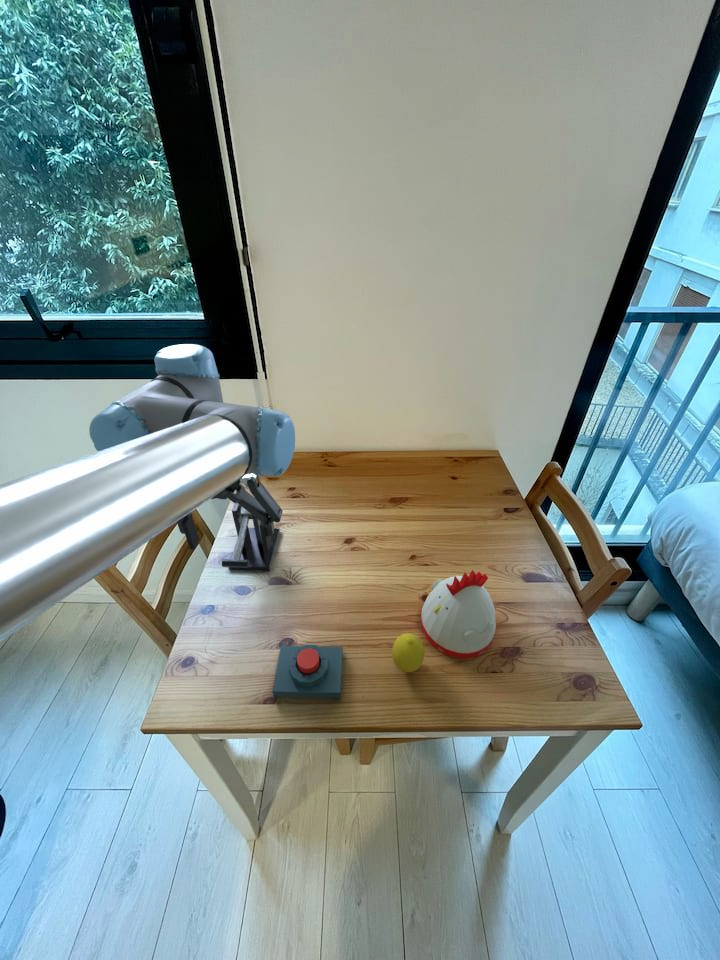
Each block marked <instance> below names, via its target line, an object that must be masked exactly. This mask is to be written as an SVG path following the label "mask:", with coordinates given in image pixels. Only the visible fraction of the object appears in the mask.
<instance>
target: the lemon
mask: <svg viewBox="0 0 720 960" xmlns="http://www.w3.org/2000/svg"><path fill="white" fill-rule="evenodd" d="M425 653H426V651H425V647H424V644H423V641H422V640H421V638H419V637H418V636H417V635H415V634H413V633H403V634H401V635H399V636H398V637H397V638H396V639H395V641H394V642H393V645H392V648H391V656H392V661H393V663H394V665H395V667H397V669H399V670H400V671H402V672H405V673H412V672H416V671H417V670H418V669H419V668H420V667H421V666H422V665H423V663H424V660H425Z"/></svg>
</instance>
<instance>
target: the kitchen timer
mask: <svg viewBox="0 0 720 960" xmlns="http://www.w3.org/2000/svg"><path fill="white" fill-rule="evenodd" d="M488 579H489V577H488V575H487V574H486V573H484V574H482V573H481V571H478V572H477V573H476V572H475V571H474V570H473V569H472V570H471V571H470V573H469V575H468V574H467V573H466V572H464V573H463V574H462V575H457V574H456V575H453V576H450V577H448V578H446V579H441V578H439V579H437V580H435V581H434V582H433V583H432V585H431V591H430V592H429V593H428V594H427V597H426V599H425V601H424V603H423V605H422V608H421V611H420V621H419V622H420V627H421V631H422V633H423V635H424V636H425V638H426V640H427V642H429V643H430V644H431V645H432V646H433V647H434V648H435V649H436V650H438V651H439V652H441V653H443V654H444V655H447V656H450V657H453V658H456V659H470V658H475V657H478V656H480V655H481V654H483V653H485V652H486V651H487V650H488V648H489V647H490V646H491V645H492V643H493V639H494V637H495V634H496V629H497V622H496V621H497V619H496V611H495V605H494V602H493V600H492V597H491V594H490V592H488V590H487V589H486V588H485V586H484V584H486V582H487V581H488Z"/></svg>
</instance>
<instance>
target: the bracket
mask: <svg viewBox="0 0 720 960" xmlns="http://www.w3.org/2000/svg"><path fill="white" fill-rule="evenodd" d="M241 507H242V506H241V505H239V504H238V503H234V505H233V507H232V509H231V513H232V517H233V523H234V526H235V530H236V535H237V537H238V536H239V532H240V527H241V523H242V517H241V514H240V511H241ZM251 520H252V523H253V527H249V526H248V527H247V531H246V536H245V540H244V544H243V549H242V553H241V558H240V560H249V567H248V568H244V567H227V568H228V570H230V571H231V570H232V571H258V572H260V571H262V572H271V568H272V564H273V560H274V556H275V553H276V551H277V550H276V549H277V545H278V542H279V538H280V534H281V529H280V528H275V527H274V532H273V535H272V536H270V537H271V544H270V548H269V551H268V552H264V548H263V543H262V537H261V532H260V523H261V521H260V520H258V519H257V518H256V517H255V516H253V515H252V519H251ZM236 544H237V542H236ZM236 544H235V546H234V549H233V551H232V554H231V557H230V559H231V560H233V557H234V553H235V549H236Z"/></svg>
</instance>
